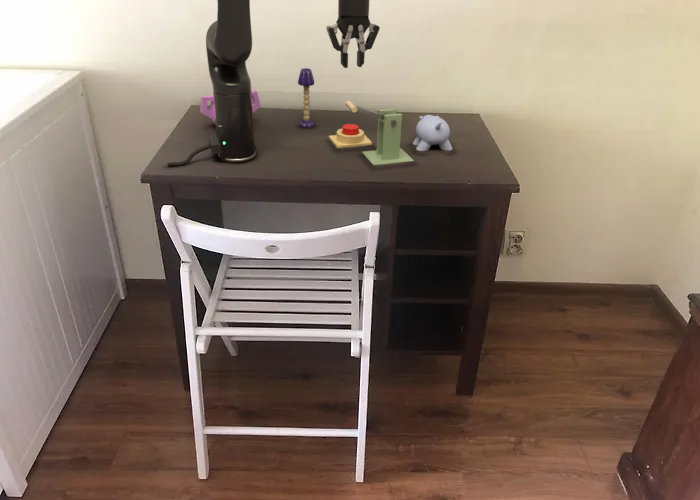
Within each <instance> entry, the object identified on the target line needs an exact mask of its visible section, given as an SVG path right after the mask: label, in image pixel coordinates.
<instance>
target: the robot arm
mask: <svg viewBox="0 0 700 500" xmlns="http://www.w3.org/2000/svg"><path fill="white" fill-rule="evenodd" d="M337 6H338V7H337V8H338V9H337V20H336V22H335V23H334V24H332V25H327V26H326V32H327V34H328V36H329V40H330V42H331V44H332V48H333V49H335V50H336V51H337V52H340V65H341V66H342V67H343V68H344V69H347V68H348V67H349V52H348V51H349V46H350V43H351V40H352V39H355V41H356V46H357V50H356V67H358V68H362V67H363V65H364V64H365V53H366V51H368V50H371V49H372V48H373V46H374V44H375V42H376V39H377V36H378V34H379V32H380V26H379V25H377V24H375V23H372V22H371V20H370V18H369V16H370V0H338V5H337ZM251 18H252V17H251V0H217V14H216V20H215V21H213V22H212V23H211V24H210V25H209V27H208V28H207V30H206V34H205V50H206V57H207V66H208V74H209V78H210V82H211V85H212V95H213V94H214V105H215V116H216V118H215V124H214V125H215V136H210V137H208V143H209V144H207V145H204V146H202V147H199V148H197V149H195V150H194V151H192V152H191V153H190V154H189V155H188V157H187V158H186V159H184V160H182V161H176V162H175V161H173V162H167V167H180V166H184V165H187V164H189V163H190V162H191V161H192V159H193V158H194V157H195V156H196V155H198V154H200V153H202V152H204V151H207V150H209V149H210V151H211V154H212V155H217V154H218V158H219V160H220V162H221V163H230V164H231V163H232V164H237V163H238V164H240V163H246V162H249V161H252V160H254V159H255V158H256V155H257V147H256V143H255V142H256V141H255V127H254V126H255V125H254V112H253V108H252V103H253V101H252V80H251V77H250V75H249V72H248V69H247V61H248V59H249V58H250V56H251V53H252V50H253V33H252V21H251ZM338 30H339V32H340V33H341V37H340V43H339V39H338V37H337V34H338ZM367 30H368V35H367V37H366V40H365V33H366V32H367Z"/></svg>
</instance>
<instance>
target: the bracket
mask: <svg viewBox="0 0 700 500" xmlns="http://www.w3.org/2000/svg"><path fill="white" fill-rule="evenodd" d="M385 112H387V113H390V114H389V115H384V114H385ZM377 113H380V114H383V115H384V122H383V121H382V119H380V118H377V132H376V134H377V135H376V150H365V151H361V153H362V154H363V155H364V157H365V159H367V160H368V161H369V162H370V163H371V164H372V166H382V165H391V164H403V163H409V162H410V163H411V162H415V160H414V159H413V158H412V157H411V156H410V155H409V154H408V153H407V152H406V151H405V150H403V148H402V147H401V137H402V123H403V114H402V113H397V109H396V108H385V109H378V112H377Z"/></svg>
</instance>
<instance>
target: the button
mask: <svg viewBox="0 0 700 500" xmlns="http://www.w3.org/2000/svg"><path fill="white" fill-rule="evenodd" d="M341 129H342V134H345V135H357V134H358V133H359V129H360V127H359V125H358V124H356V123H355V124H354V123H345V124H343V125H342V127H341Z"/></svg>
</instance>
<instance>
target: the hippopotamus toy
mask: <svg viewBox="0 0 700 500" xmlns="http://www.w3.org/2000/svg"><path fill="white" fill-rule="evenodd" d="M418 119H419V121H417V122H418V123H417V124H416V127H415V133H416V137H415V138H414V141H413V142H412V144H413V145H414V146H416V148H415V150H416V151H419V152H420V151H421V152H427V151H429V150H430V149H431V146H435V145H438V147H439V148H440V150H442V151H452V150H453V146H452V144H451V141H450V140H449V138H450V135H451V129H450V126H449V124H448V123H447V122H446V120H444V119H443V118H441V117H440V116H439V115H432V114H426V115H420V116H419V117H418Z"/></svg>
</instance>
